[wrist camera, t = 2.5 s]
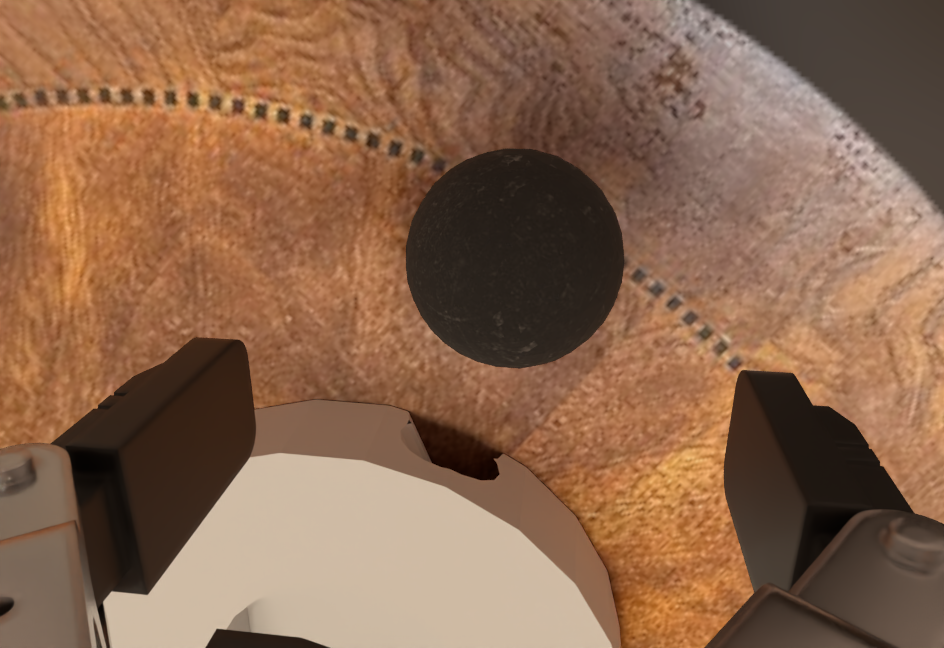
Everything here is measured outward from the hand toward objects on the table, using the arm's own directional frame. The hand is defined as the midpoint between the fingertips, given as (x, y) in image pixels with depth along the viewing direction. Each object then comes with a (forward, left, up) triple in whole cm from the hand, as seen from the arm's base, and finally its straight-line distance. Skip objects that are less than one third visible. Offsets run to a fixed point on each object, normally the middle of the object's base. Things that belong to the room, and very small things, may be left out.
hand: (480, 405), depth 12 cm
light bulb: (0, 0, -15) cm, 15 cm away
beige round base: (-7, -20, -15) cm, 26 cm away
